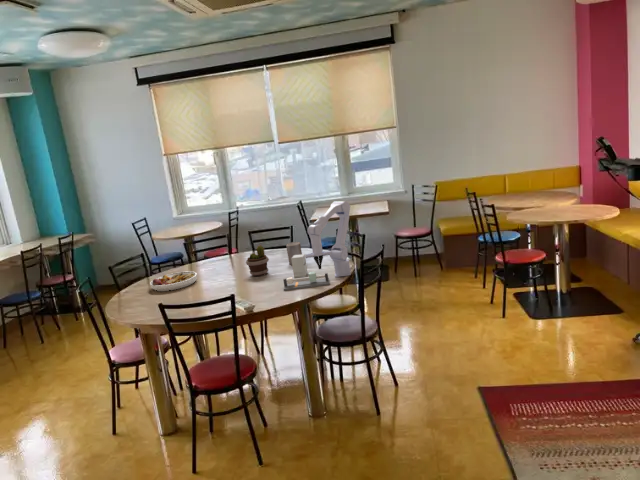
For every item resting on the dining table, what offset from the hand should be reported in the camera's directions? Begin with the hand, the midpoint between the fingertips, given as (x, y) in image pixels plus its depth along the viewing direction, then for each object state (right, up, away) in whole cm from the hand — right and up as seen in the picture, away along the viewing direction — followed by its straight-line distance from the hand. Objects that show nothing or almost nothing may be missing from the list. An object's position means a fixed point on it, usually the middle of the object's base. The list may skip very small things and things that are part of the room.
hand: (320, 268), depth 294 cm
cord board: (-8, -10, +2) cm, 12 cm away
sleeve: (-4, -7, +2) cm, 8 cm away
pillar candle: (-16, 0, +56) cm, 59 cm away
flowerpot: (-39, -6, +41) cm, 57 cm away
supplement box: (-12, -6, +24) cm, 27 cm away
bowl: (-96, -14, +45) cm, 107 cm away
